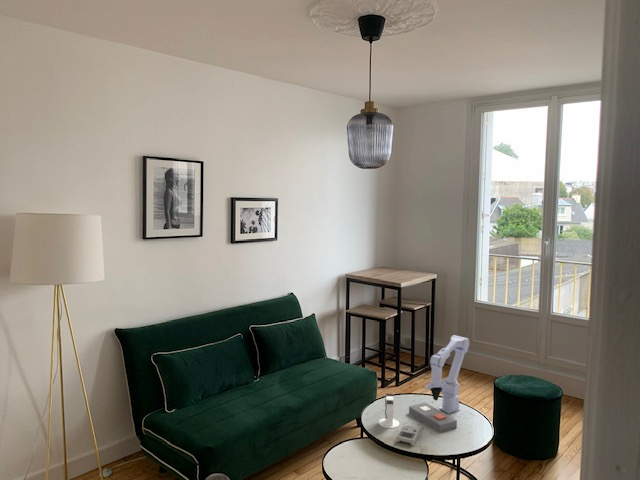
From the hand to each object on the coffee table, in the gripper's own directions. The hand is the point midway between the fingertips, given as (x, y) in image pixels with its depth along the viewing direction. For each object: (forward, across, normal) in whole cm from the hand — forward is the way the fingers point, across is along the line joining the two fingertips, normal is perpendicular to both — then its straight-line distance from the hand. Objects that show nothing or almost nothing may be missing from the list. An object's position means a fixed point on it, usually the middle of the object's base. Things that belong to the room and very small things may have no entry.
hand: (435, 399), depth 276 cm
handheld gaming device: (+12, +29, +12) cm, 33 cm away
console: (+10, +4, +2) cm, 11 cm away
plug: (+10, +3, -4) cm, 11 cm away
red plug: (+10, +3, +8) cm, 13 cm away
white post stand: (+11, +28, -6) cm, 30 cm away
